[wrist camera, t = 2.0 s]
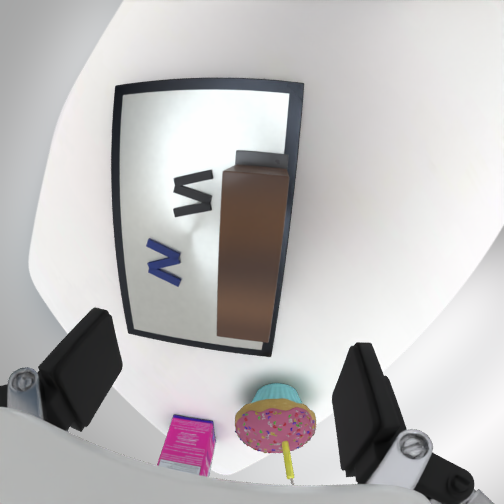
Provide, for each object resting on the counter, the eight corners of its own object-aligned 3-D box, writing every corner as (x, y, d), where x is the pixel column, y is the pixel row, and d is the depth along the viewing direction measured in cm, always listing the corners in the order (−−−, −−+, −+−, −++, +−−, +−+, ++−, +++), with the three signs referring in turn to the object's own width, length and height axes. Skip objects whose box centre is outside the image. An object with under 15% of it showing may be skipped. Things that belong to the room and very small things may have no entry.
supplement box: (218, 440, 35) (203, 505, 24) (179, 434, 35) (159, 495, 25) (215, 420, 33) (198, 493, 22) (172, 413, 33) (148, 481, 23)
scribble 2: (174, 167, 21) (173, 168, 20) (213, 169, 20) (213, 170, 20) (174, 216, 22) (172, 217, 22) (211, 219, 22) (210, 220, 22)
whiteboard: (119, 86, 19) (113, 85, 18) (303, 85, 18) (304, 82, 17) (131, 329, 28) (127, 334, 27) (271, 352, 27) (271, 358, 26)
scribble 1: (147, 238, 23) (145, 239, 23) (180, 241, 23) (179, 242, 22) (149, 281, 24) (148, 282, 24) (181, 285, 24) (180, 287, 24)
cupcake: (293, 361, 27) (294, 464, 16) (325, 403, 30) (333, 490, 19) (225, 386, 30) (204, 477, 19) (263, 422, 32) (256, 503, 21)
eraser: (238, 149, 20) (223, 152, 15) (288, 154, 19) (291, 158, 14) (228, 306, 25) (216, 347, 19) (270, 311, 24) (267, 353, 19)
